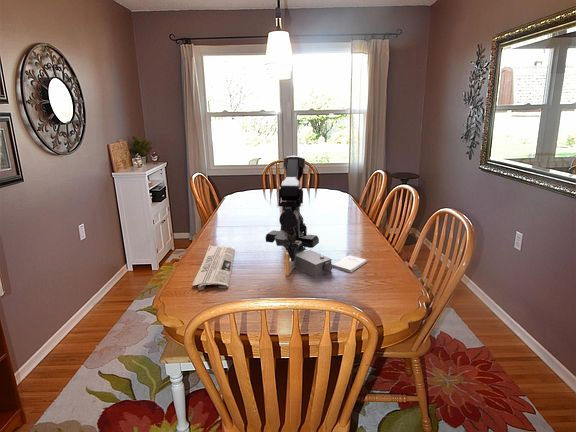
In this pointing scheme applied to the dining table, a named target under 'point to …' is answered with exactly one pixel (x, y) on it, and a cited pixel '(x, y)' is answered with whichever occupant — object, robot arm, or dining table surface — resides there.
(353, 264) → the external hard drive
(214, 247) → the newspaper
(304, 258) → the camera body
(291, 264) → the side door
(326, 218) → the dining table surface
